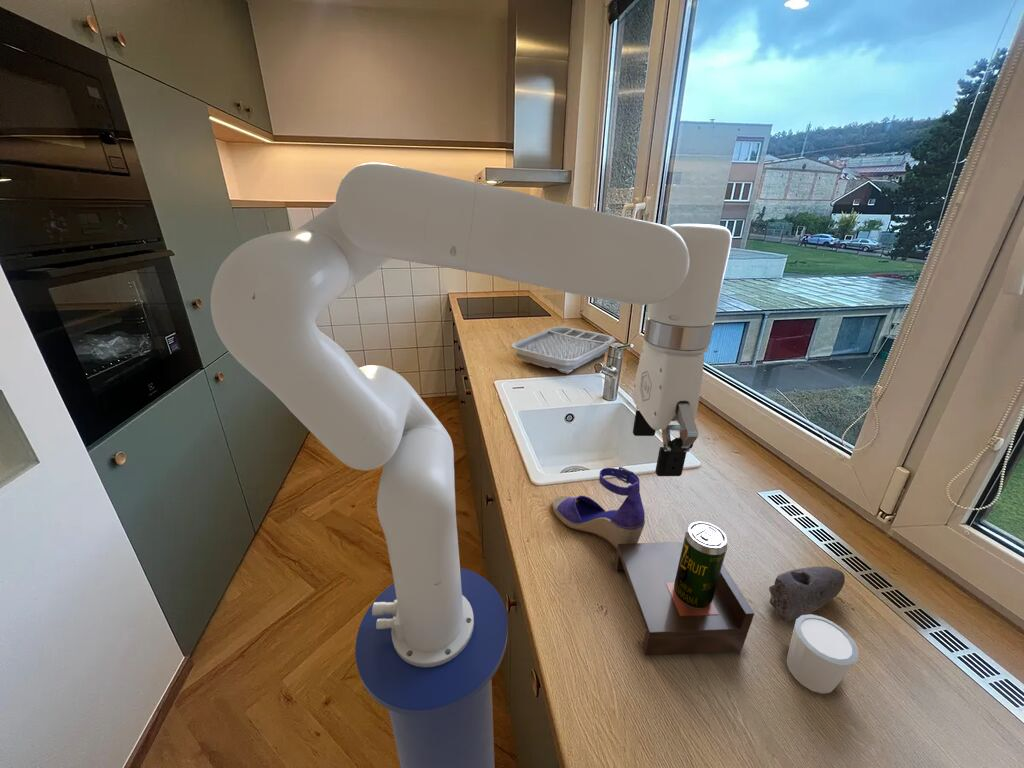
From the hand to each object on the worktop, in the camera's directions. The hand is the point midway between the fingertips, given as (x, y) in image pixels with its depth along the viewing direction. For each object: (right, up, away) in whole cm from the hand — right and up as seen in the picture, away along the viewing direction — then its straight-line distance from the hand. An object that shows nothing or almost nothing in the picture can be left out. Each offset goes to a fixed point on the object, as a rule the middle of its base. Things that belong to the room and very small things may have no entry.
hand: (654, 453), depth 56 cm
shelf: (+6, -26, +9) cm, 28 cm away
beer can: (+7, -22, +5) cm, 24 cm away
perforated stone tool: (+27, -26, +9) cm, 39 cm away
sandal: (-4, -19, +25) cm, 32 cm away
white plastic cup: (+21, -30, 0) cm, 37 cm away
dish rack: (+1, +20, +113) cm, 114 cm away
